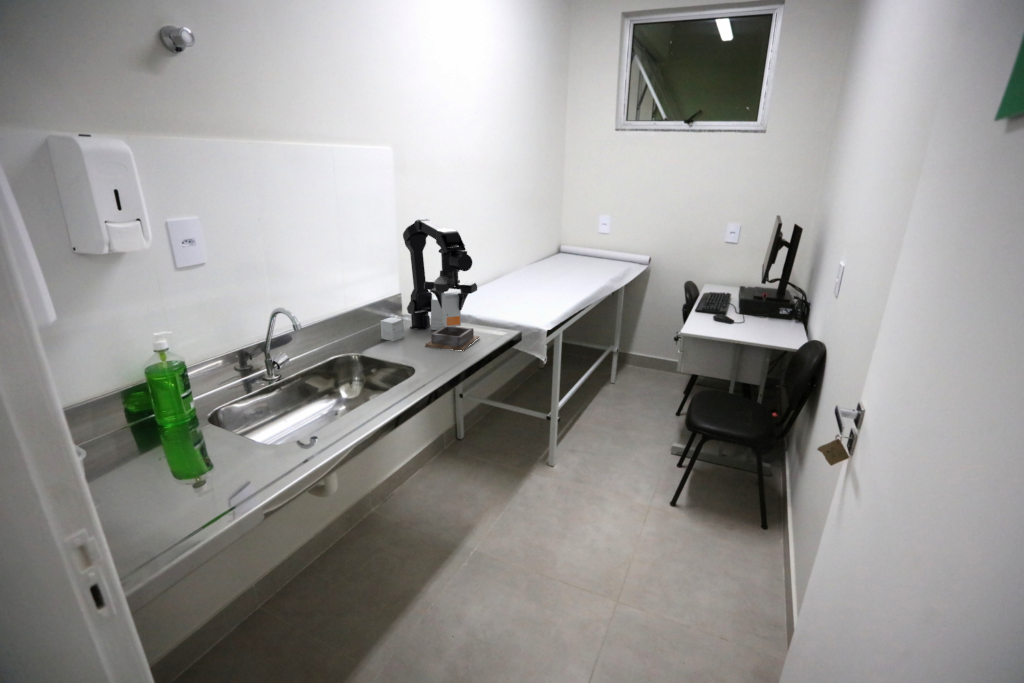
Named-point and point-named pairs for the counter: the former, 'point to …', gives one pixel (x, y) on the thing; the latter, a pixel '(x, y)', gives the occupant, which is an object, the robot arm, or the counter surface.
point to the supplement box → (436, 314)
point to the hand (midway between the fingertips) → (451, 309)
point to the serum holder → (452, 338)
